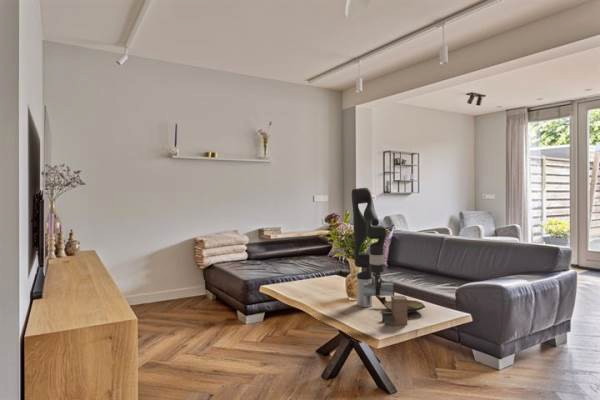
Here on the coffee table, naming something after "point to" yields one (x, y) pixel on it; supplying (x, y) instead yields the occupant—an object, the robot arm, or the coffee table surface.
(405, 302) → the dark u-channel
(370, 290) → the gray rectangular block
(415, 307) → the cracked wood slice
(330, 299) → the coffee table surface
